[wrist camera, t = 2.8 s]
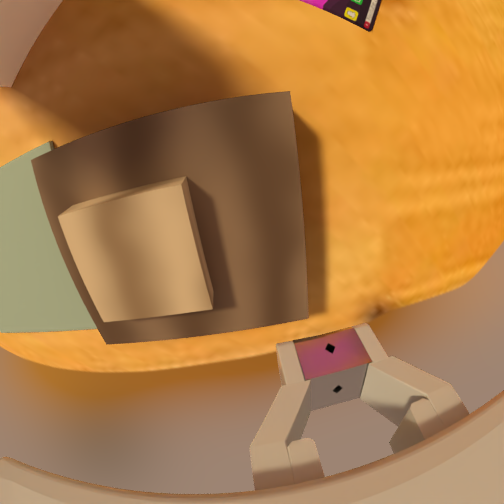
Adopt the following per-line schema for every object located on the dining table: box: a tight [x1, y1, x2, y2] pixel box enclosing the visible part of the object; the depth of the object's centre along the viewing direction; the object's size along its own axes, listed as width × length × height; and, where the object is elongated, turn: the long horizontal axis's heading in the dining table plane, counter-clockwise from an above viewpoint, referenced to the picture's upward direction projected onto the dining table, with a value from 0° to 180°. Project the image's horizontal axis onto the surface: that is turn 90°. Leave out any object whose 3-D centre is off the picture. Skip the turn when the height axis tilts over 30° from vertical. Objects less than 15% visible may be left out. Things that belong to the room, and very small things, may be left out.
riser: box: [31, 91, 309, 344], centre depth 19 cm, size 17×16×4 cm
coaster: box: [58, 176, 214, 322], centre depth 17 cm, size 8×8×2 cm
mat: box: [0, 141, 97, 333], centre depth 21 cm, size 20×18×1 cm
